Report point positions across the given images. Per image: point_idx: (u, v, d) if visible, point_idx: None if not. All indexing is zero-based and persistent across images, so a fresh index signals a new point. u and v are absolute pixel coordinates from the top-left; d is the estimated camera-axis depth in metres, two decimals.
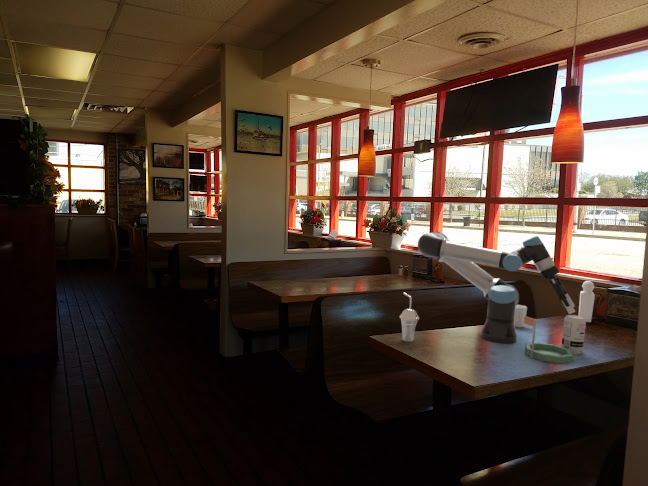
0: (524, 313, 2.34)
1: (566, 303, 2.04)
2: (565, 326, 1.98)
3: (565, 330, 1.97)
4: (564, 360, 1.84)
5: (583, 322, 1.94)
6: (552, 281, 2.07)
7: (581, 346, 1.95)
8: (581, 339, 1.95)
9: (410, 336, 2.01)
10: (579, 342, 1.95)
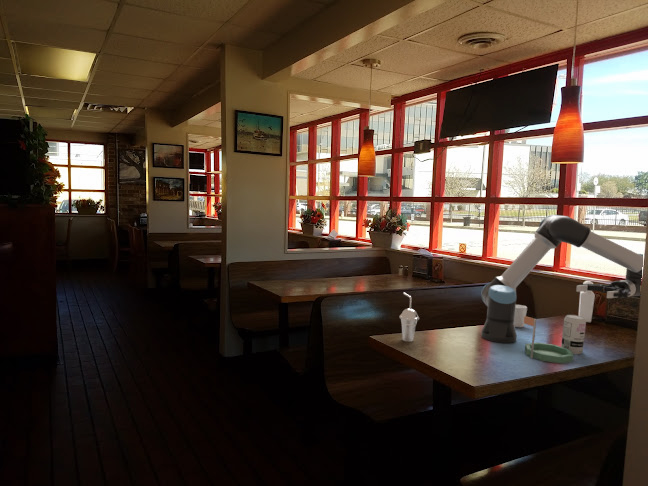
0: (524, 313, 2.34)
1: (618, 295, 1.96)
2: (565, 326, 1.97)
3: (565, 330, 1.97)
4: (564, 360, 1.84)
5: (583, 322, 1.94)
6: (629, 291, 2.02)
7: (581, 346, 1.95)
8: (581, 339, 1.95)
9: (410, 336, 2.01)
10: (579, 342, 1.95)
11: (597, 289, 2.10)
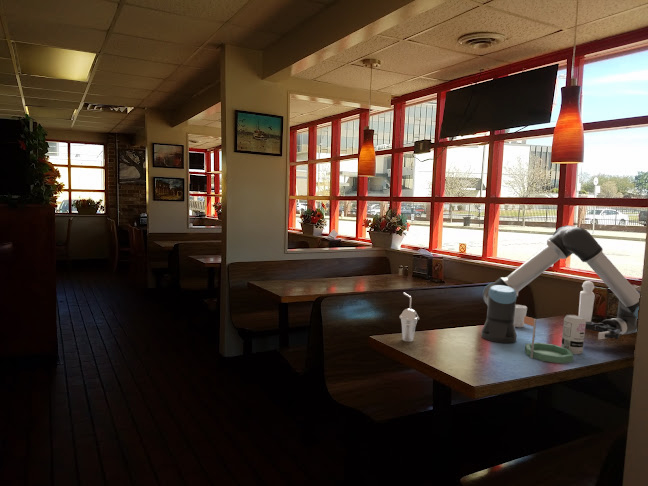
0: (524, 313, 2.34)
1: (609, 336, 1.95)
2: (565, 326, 1.98)
3: (565, 330, 1.97)
4: (564, 360, 1.84)
5: (583, 322, 1.94)
6: (621, 331, 2.02)
7: (581, 346, 1.95)
8: (581, 339, 1.95)
9: (410, 336, 2.01)
10: (579, 342, 1.95)
11: (589, 327, 2.09)
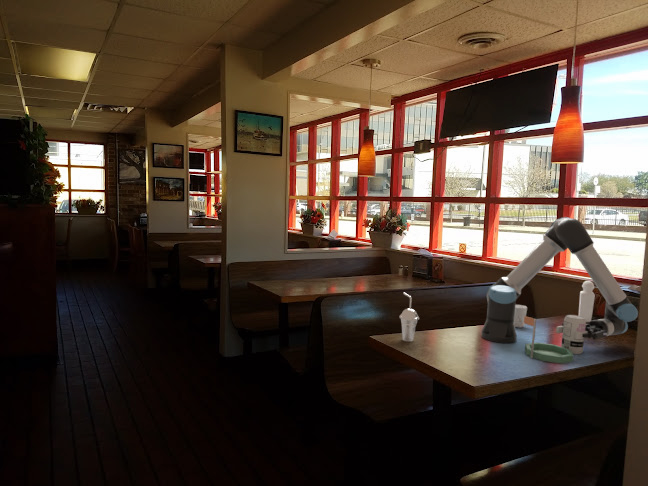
0: (524, 313, 2.34)
1: (587, 336, 1.93)
2: (565, 326, 1.97)
3: (565, 330, 1.97)
4: (564, 360, 1.84)
5: (583, 322, 1.94)
6: (605, 332, 1.98)
7: (581, 346, 1.95)
8: (581, 339, 1.95)
9: (410, 336, 2.01)
10: (579, 342, 1.95)
11: None
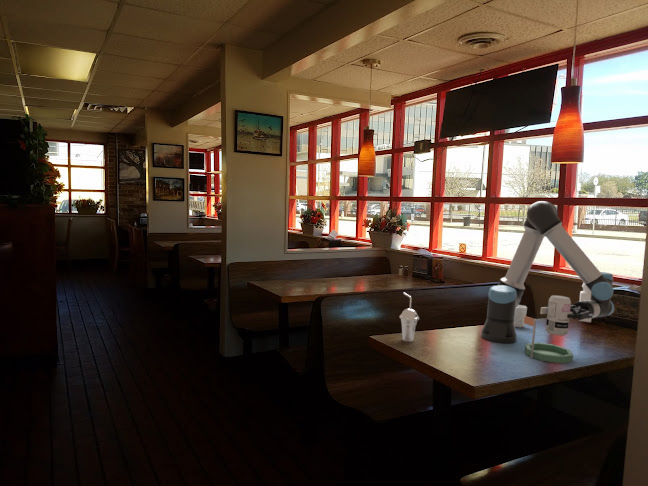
0: (524, 313, 2.34)
1: (572, 316, 1.86)
2: (550, 307, 1.90)
3: (550, 311, 1.90)
4: (564, 360, 1.84)
5: (568, 302, 1.87)
6: (591, 313, 1.91)
7: (566, 327, 1.88)
8: (566, 320, 1.88)
9: (410, 336, 2.01)
10: (564, 323, 1.87)
11: None
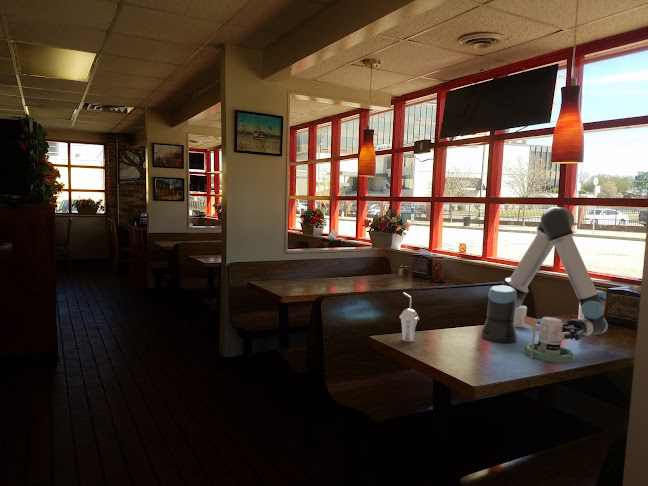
0: (524, 313, 2.34)
1: (569, 336, 1.85)
2: (541, 328, 1.91)
3: (541, 332, 1.90)
4: (564, 360, 1.84)
5: (560, 324, 1.87)
6: (584, 332, 1.91)
7: (558, 349, 1.88)
8: (558, 342, 1.88)
9: (410, 336, 2.01)
10: (555, 345, 1.88)
11: None
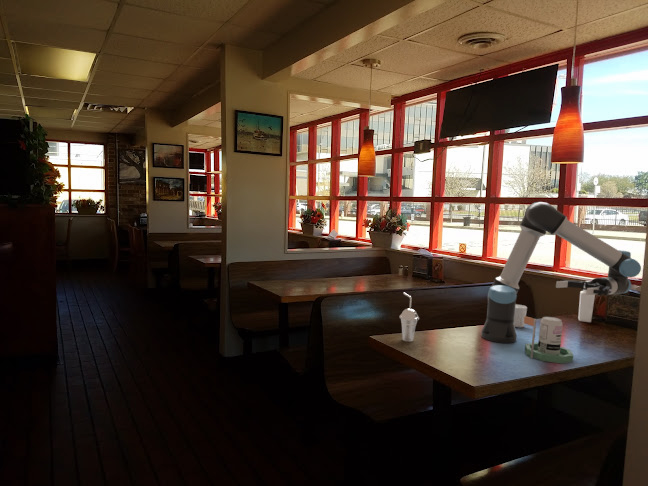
0: (524, 313, 2.34)
1: (598, 292, 1.89)
2: (541, 328, 1.91)
3: (541, 332, 1.90)
4: (564, 360, 1.84)
5: (560, 324, 1.87)
6: (610, 289, 1.95)
7: (558, 349, 1.88)
8: (558, 342, 1.88)
9: (410, 336, 2.01)
10: (555, 345, 1.88)
11: (578, 286, 2.02)
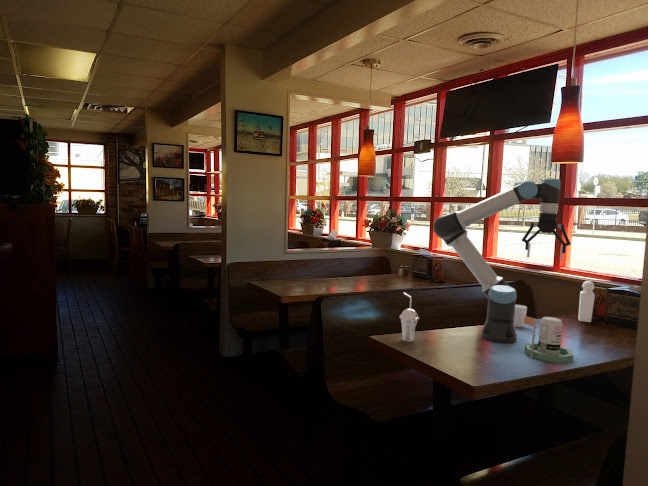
0: (524, 313, 2.34)
1: None
2: (541, 328, 1.91)
3: (541, 332, 1.90)
4: (564, 360, 1.84)
5: (560, 324, 1.87)
6: None
7: (558, 349, 1.88)
8: (558, 342, 1.88)
9: (410, 336, 2.01)
10: (555, 345, 1.88)
11: None
